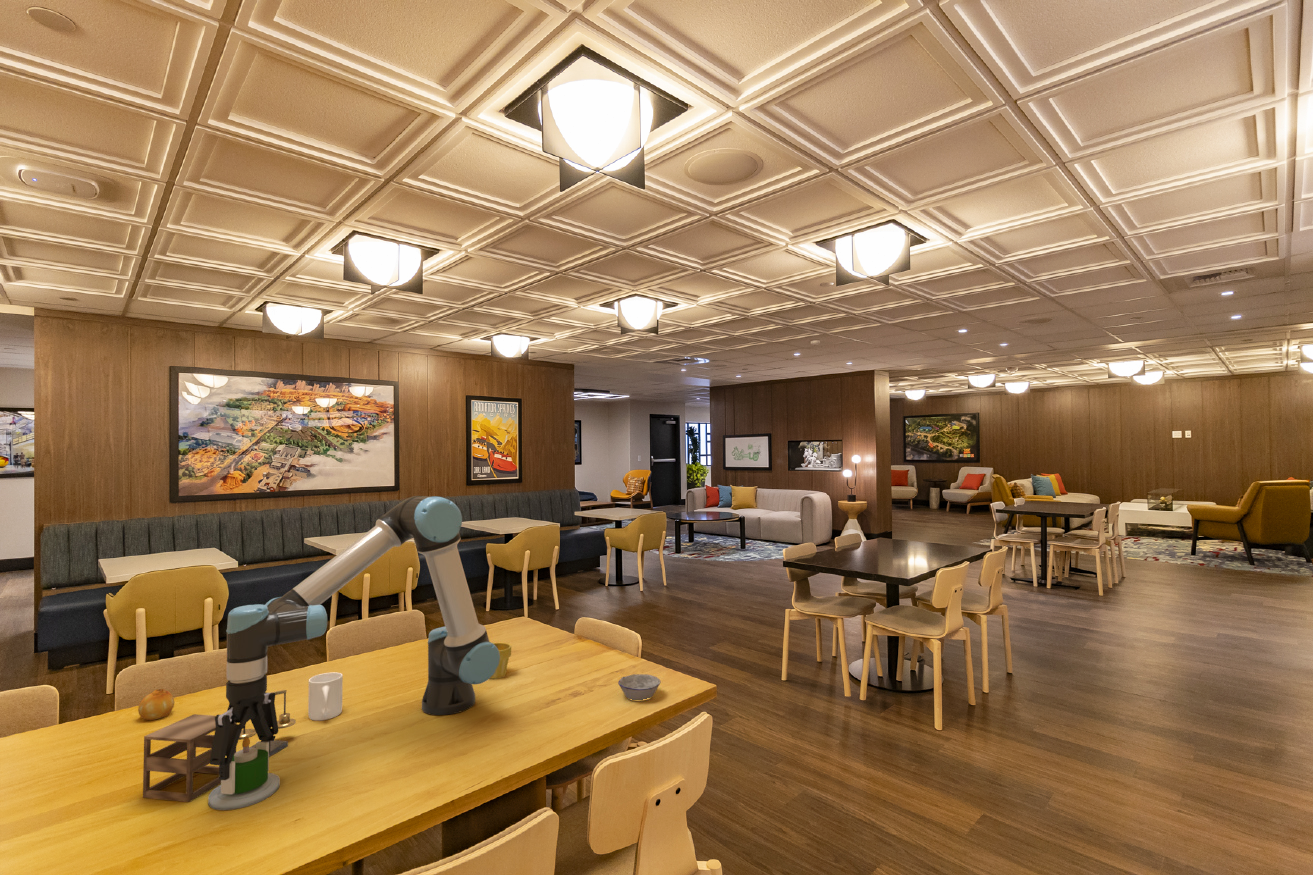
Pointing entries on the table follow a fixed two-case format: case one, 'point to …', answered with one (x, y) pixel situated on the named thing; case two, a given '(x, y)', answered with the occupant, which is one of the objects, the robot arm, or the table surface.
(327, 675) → the mug
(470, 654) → the robot arm
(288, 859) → the table surface
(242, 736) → the balance
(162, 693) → the brown onion
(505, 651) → the plant pot
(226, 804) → the dish
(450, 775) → the table surface
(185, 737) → the crate
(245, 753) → the candle
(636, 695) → the bowl
